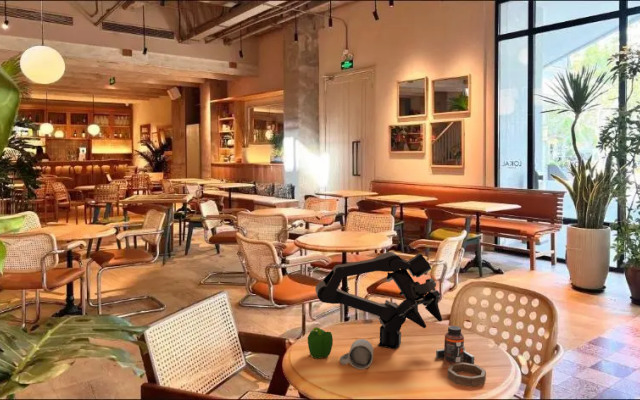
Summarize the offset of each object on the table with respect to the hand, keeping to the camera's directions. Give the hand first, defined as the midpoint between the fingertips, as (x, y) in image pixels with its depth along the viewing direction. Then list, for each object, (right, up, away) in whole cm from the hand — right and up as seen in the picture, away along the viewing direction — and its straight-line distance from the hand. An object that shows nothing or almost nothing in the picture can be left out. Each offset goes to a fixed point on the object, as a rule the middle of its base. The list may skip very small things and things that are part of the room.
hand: (433, 324), depth 169 cm
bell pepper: (-37, -11, 0) cm, 39 cm away
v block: (+8, -11, 0) cm, 13 cm away
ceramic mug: (-26, -11, -6) cm, 29 cm away
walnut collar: (+6, -12, -16) cm, 21 cm away
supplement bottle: (+6, -11, -4) cm, 13 cm away
